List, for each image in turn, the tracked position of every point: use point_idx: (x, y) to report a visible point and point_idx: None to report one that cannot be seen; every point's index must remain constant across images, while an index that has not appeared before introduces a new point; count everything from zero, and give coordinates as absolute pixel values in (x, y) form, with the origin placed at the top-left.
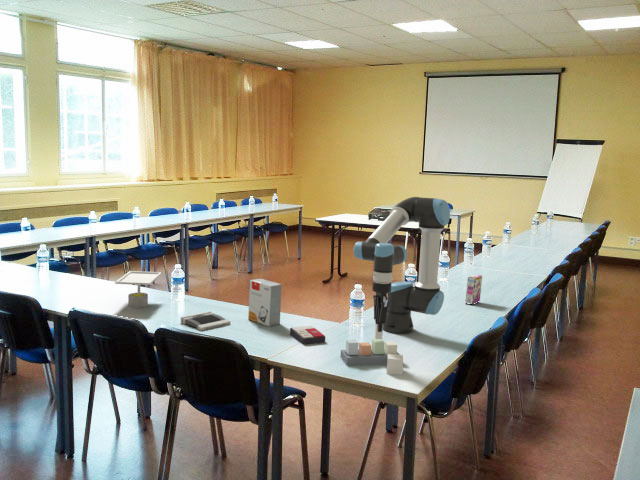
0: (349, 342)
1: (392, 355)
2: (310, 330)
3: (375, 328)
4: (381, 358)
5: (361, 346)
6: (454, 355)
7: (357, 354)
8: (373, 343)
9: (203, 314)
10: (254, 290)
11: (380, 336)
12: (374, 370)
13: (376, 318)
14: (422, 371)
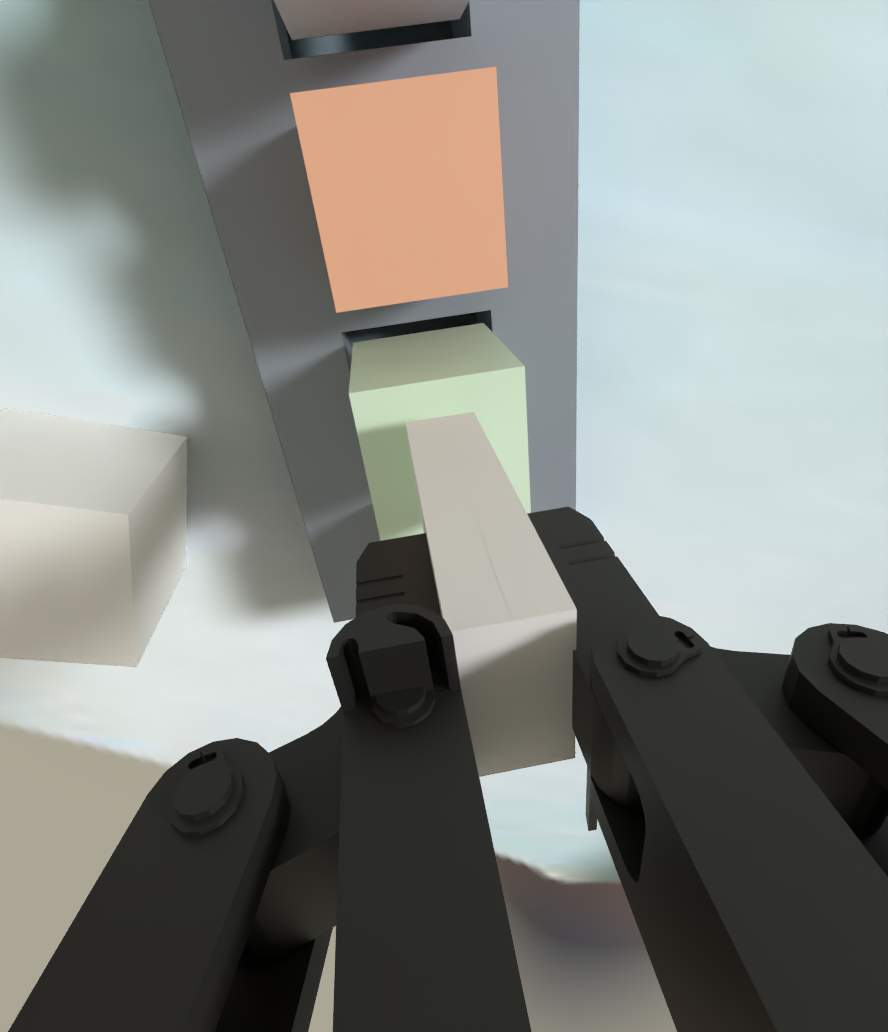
0: None
1: (64, 560)
2: None
3: (503, 510)
4: (275, 414)
5: (314, 93)
6: (534, 855)
7: (290, 32)
8: (434, 366)
9: None
10: None
11: (423, 527)
12: (48, 278)
13: (637, 765)
14: (180, 694)
